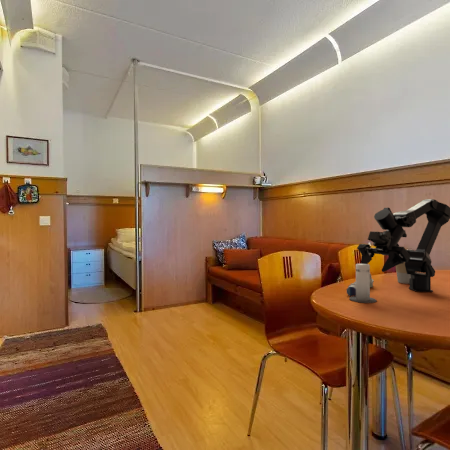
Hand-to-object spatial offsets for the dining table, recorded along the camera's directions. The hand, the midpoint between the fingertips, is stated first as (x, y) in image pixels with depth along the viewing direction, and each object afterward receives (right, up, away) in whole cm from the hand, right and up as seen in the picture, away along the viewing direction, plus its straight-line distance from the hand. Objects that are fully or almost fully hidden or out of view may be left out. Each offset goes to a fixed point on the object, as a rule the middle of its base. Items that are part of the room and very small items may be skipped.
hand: (371, 269), depth 113 cm
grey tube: (+2, -11, +14) cm, 18 cm away
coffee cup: (+30, -10, +30) cm, 43 cm away
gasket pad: (-4, -11, -2) cm, 12 cm away
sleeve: (-4, -10, -2) cm, 11 cm away
